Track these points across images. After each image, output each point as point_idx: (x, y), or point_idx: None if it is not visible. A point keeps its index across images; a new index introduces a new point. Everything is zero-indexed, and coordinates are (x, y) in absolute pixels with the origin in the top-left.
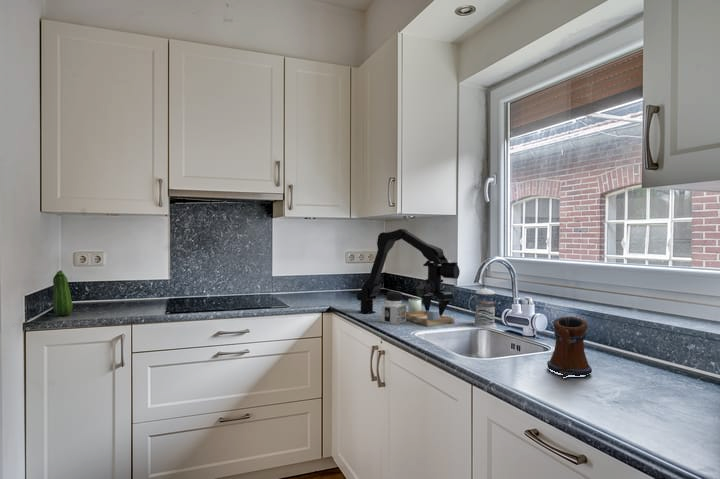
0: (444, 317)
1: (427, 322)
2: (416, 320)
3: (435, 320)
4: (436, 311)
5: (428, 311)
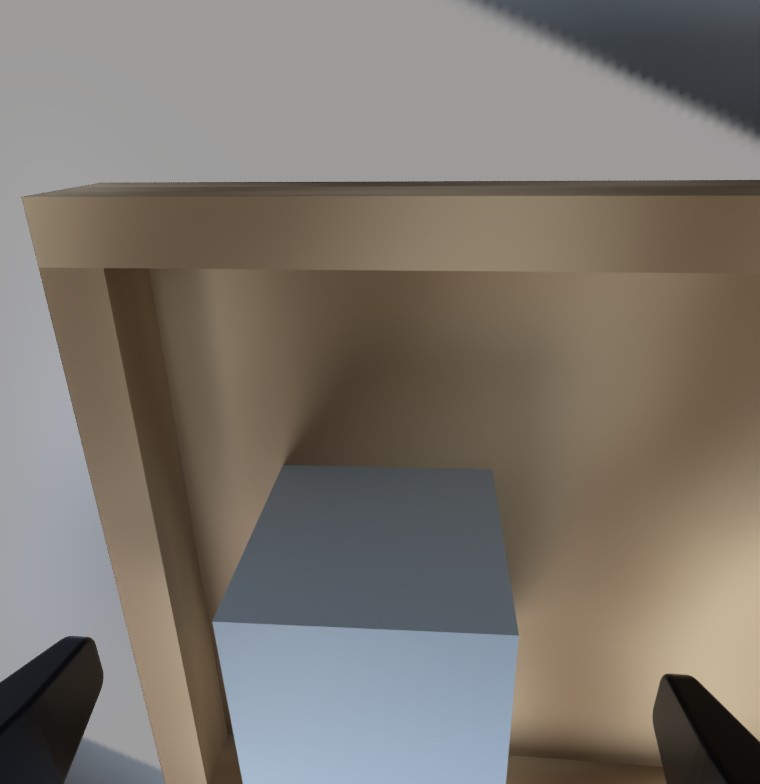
0: None
1: (55, 192)
2: (562, 184)
3: (86, 440)
4: (302, 757)
5: (451, 624)
